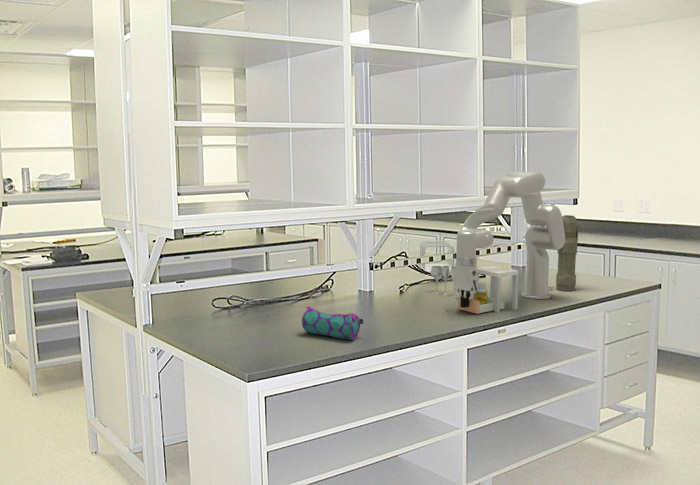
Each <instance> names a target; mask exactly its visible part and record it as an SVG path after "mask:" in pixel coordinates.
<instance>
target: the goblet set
mask: <svg viewBox="0 0 700 485" xmlns="http://www.w3.org/2000/svg"><path fill="white" fill-rule="evenodd" d="M454 270H455V266H454V267H451V274H449V273H450V268H449V266H443V267H441V266H432V268H431V274H430V275H431V277H432V278H433V280H435V285H436V288H435V291H432V292H431V294H440V295H441V296H450V297H451V298H458V297H460V296H459V295H456V291H455V287H454V286H453V295H450V294H449V293H447V282H448V279H449V277H451V280H452V282H453V281H454ZM442 277H443V280H444V293H442V291H438V282H439V280H440V279H441V278H442ZM478 283H480V274H479V273H478Z"/></svg>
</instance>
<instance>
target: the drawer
mask: <svg viewBox="0 0 700 485" xmlns="http://www.w3.org/2000/svg"><path fill="white" fill-rule="evenodd" d="M460 302H461V297H460V296H459V297H457V309H458V310H460V311H466V312H469V313H472V314H476V315H479V314H481V313H487V312H493V311H494V303H495V299H493V298H490V297H488V296H487V304H483V305H480V301H477V300H474V299H472V298H469V307H466V308H463V307H460ZM505 302H506V301H505V300H501V299H500V310H504V309H505V307H506V306H505V305H506V303H505Z"/></svg>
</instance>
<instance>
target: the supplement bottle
mask: <svg viewBox="0 0 700 485" xmlns="http://www.w3.org/2000/svg"><path fill="white" fill-rule="evenodd" d="M486 286H487V285H486V282H478V290H475V292H476V294H474V300H477V301H480V305H483V304H487V297H488V289H487V288H486Z"/></svg>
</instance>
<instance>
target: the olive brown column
mask: <svg viewBox="0 0 700 485" xmlns="http://www.w3.org/2000/svg"><path fill="white" fill-rule="evenodd" d="M562 219H563V226H564V232H565V244H564V246H563V247H562V248H561V249H559V250H556V251H557V255H558V256H557V257H558V258H557V273H556V274H555V275H556V278H555V285H556V286H555V290H556V291H559V292H566V293H567V292H575V291H576V285H577V276H576V260H577V258H576V257H577V253H578V243H579V227H578V221H577V218H576V216H574V215H570V214H568V215H562Z"/></svg>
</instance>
